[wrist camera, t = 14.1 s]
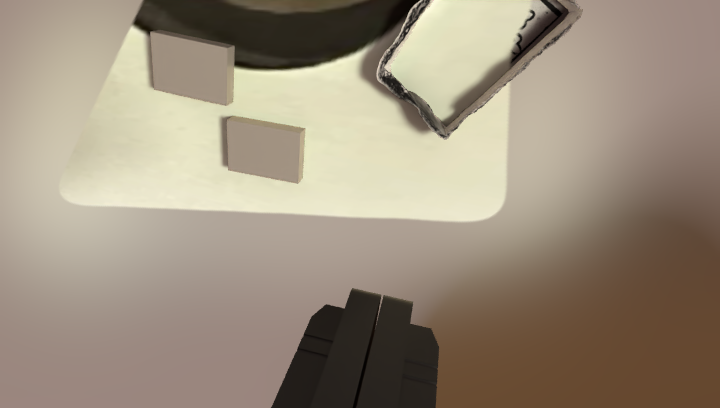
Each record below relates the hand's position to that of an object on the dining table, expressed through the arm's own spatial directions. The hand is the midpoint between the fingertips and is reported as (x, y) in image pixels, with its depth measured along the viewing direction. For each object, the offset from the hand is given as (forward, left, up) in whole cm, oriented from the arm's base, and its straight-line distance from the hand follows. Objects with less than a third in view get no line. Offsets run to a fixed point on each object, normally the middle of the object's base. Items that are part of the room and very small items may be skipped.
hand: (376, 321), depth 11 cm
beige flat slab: (+2, -18, -28) cm, 34 cm away
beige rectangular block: (+8, -11, -28) cm, 32 cm away
